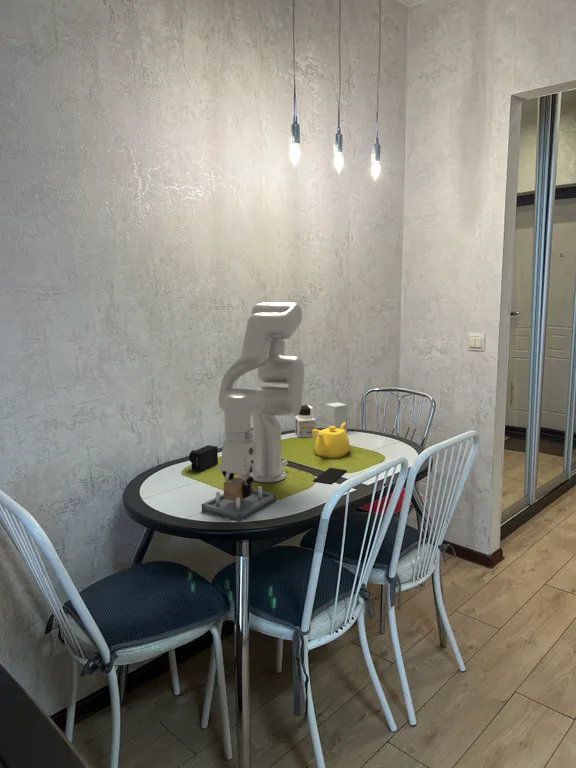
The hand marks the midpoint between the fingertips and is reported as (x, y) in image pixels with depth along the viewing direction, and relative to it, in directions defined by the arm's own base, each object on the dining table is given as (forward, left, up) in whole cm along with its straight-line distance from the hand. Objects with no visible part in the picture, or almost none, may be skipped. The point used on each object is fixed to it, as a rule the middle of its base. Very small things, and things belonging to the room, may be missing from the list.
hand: (239, 494), depth 167 cm
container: (-80, -26, -4) cm, 84 cm away
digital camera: (-22, -34, -4) cm, 41 cm away
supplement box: (-92, -17, -4) cm, 94 cm away
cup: (-47, -34, -4) cm, 58 cm away
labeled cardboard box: (0, 0, -1) cm, 1 cm away
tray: (0, 0, -4) cm, 4 cm away
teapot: (-62, -4, -4) cm, 62 cm away
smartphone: (-38, +10, -4) cm, 40 cm away
